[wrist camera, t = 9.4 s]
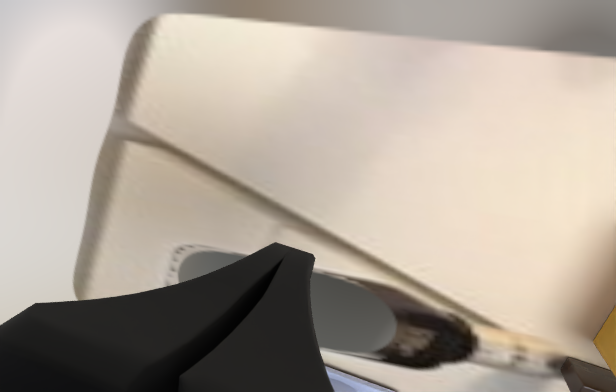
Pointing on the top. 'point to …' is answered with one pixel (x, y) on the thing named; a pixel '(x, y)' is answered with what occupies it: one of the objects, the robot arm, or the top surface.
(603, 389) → the bay
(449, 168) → the top surface
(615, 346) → the block
